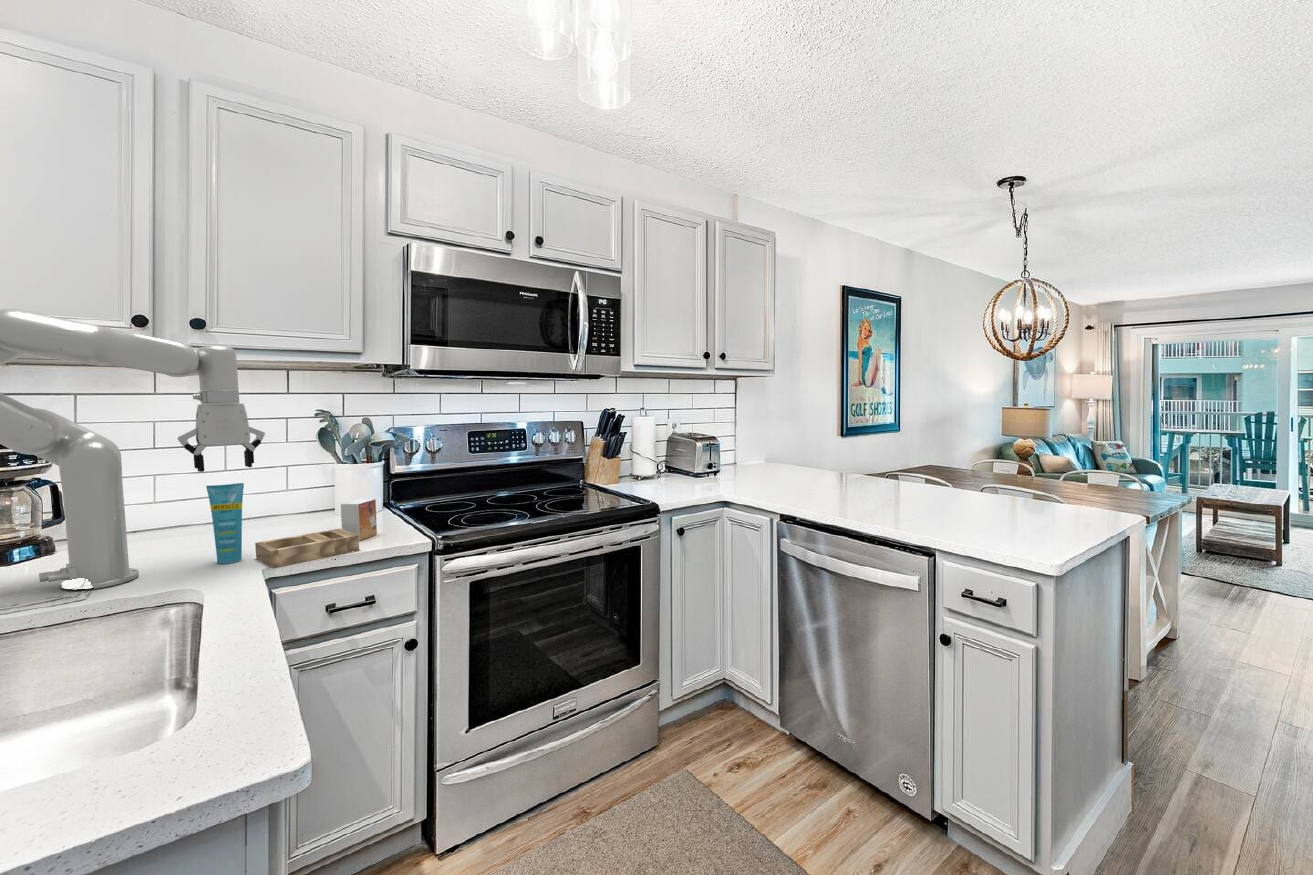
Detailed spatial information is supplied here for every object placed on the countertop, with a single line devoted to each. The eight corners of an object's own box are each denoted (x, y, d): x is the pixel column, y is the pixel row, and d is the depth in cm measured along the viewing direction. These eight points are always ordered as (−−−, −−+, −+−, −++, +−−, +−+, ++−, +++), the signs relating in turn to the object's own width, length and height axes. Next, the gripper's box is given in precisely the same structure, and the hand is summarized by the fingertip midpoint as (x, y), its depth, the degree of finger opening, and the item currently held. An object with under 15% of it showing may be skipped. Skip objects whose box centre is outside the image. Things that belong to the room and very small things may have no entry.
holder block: (272, 567, 141) (271, 551, 141) (256, 558, 149) (255, 542, 149) (359, 550, 156) (358, 535, 156) (340, 542, 164) (340, 528, 164)
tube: (210, 566, 143) (205, 486, 141) (211, 561, 147) (206, 483, 145) (248, 561, 147) (243, 483, 145) (248, 556, 151) (244, 481, 149)
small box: (359, 541, 165) (358, 504, 164) (341, 540, 166) (339, 503, 165) (377, 534, 173) (376, 498, 172) (360, 533, 174) (358, 498, 173)
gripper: (178, 399, 134) (184, 474, 136) (266, 397, 147) (271, 466, 149) (171, 399, 139) (177, 471, 141) (257, 397, 152) (261, 463, 154)
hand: (225, 468), depth 145 cm, fingers open, 9 cm apart
